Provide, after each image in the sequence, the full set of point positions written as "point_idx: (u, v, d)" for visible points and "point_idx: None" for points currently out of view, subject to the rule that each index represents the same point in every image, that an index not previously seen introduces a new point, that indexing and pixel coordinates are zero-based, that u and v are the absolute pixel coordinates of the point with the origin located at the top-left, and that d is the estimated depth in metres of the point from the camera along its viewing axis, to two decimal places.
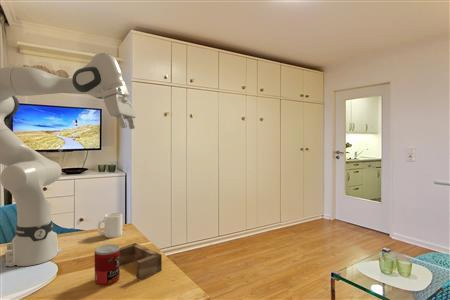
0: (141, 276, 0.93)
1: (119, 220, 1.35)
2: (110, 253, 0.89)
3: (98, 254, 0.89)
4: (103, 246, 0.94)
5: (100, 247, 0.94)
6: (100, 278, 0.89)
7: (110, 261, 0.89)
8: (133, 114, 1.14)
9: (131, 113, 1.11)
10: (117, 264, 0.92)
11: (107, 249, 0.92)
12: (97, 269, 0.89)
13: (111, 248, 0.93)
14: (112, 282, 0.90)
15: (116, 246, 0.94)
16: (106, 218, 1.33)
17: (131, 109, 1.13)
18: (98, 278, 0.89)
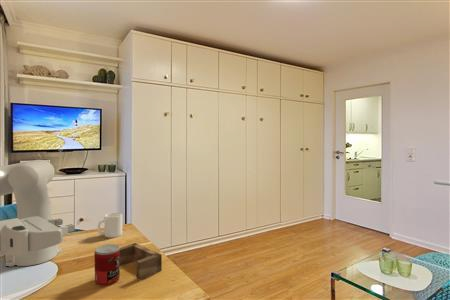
0: (141, 276, 0.93)
1: (119, 220, 1.35)
2: (110, 253, 0.89)
3: (98, 254, 0.89)
4: (103, 246, 0.94)
5: (100, 247, 0.94)
6: (100, 278, 0.89)
7: (110, 261, 0.89)
8: (38, 218, 0.82)
9: (40, 219, 0.81)
10: (117, 264, 0.92)
11: (107, 249, 0.92)
12: (97, 269, 0.89)
13: (111, 248, 0.93)
14: (112, 282, 0.90)
15: (116, 246, 0.94)
16: (106, 218, 1.33)
17: (30, 220, 0.80)
18: (98, 278, 0.89)
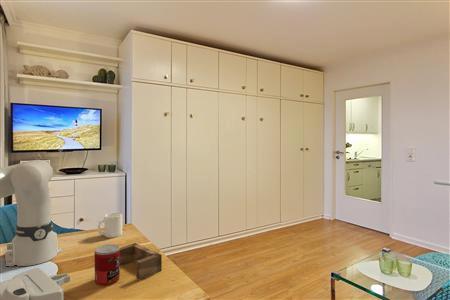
0: (141, 276, 0.93)
1: (119, 220, 1.35)
2: (110, 253, 0.89)
3: (98, 254, 0.89)
4: (103, 246, 0.94)
5: (100, 247, 0.94)
6: (100, 278, 0.89)
7: (110, 261, 0.89)
8: (39, 271, 0.83)
9: (41, 274, 0.81)
10: (117, 264, 0.92)
11: (107, 249, 0.92)
12: (97, 269, 0.89)
13: (111, 248, 0.93)
14: (112, 282, 0.90)
15: (116, 246, 0.94)
16: (106, 218, 1.33)
17: (31, 274, 0.81)
18: (98, 278, 0.89)
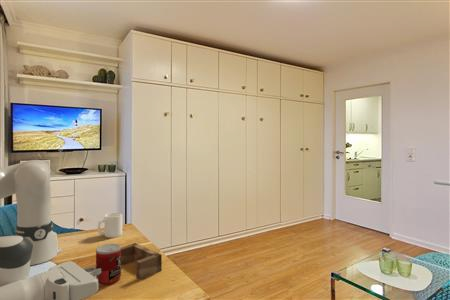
0: (141, 276, 0.93)
1: (119, 220, 1.35)
2: (111, 252, 0.90)
3: (100, 253, 0.89)
4: (104, 245, 0.95)
5: (101, 246, 0.94)
6: (101, 277, 0.89)
7: (112, 260, 0.90)
8: (72, 264, 0.89)
9: (74, 266, 0.87)
10: (118, 263, 0.92)
11: (108, 248, 0.93)
12: None
13: (112, 247, 0.93)
14: (113, 281, 0.90)
15: (117, 245, 0.95)
16: (106, 218, 1.33)
17: (65, 266, 0.87)
18: (100, 278, 0.89)
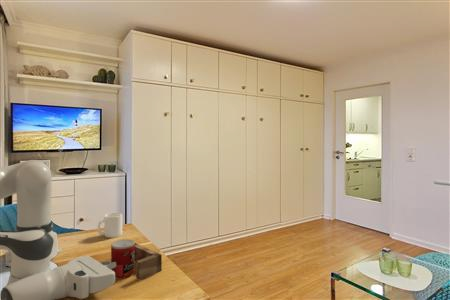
0: (141, 276, 0.93)
1: (119, 220, 1.35)
2: (126, 247, 0.94)
3: (115, 248, 0.94)
4: (119, 241, 0.99)
5: (116, 242, 0.98)
6: (116, 271, 0.94)
7: (126, 255, 0.94)
8: (88, 257, 0.93)
9: (91, 260, 0.92)
10: (132, 258, 0.96)
11: (123, 244, 0.97)
12: None
13: (127, 243, 0.98)
14: (127, 275, 0.95)
15: (131, 241, 0.99)
16: (106, 218, 1.33)
17: (82, 260, 0.92)
18: (115, 271, 0.94)
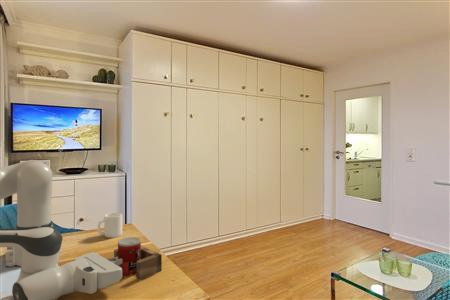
0: (141, 276, 0.93)
1: (119, 220, 1.35)
2: (131, 245, 0.96)
3: (121, 245, 0.96)
4: (126, 239, 1.02)
5: (123, 239, 1.01)
6: (122, 268, 0.96)
7: (131, 253, 0.96)
8: (95, 254, 0.96)
9: (98, 256, 0.94)
10: (138, 256, 0.98)
11: (129, 241, 0.99)
12: None
13: (133, 241, 1.00)
14: (133, 272, 0.97)
15: (138, 239, 1.01)
16: (106, 218, 1.33)
17: (89, 257, 0.94)
18: None
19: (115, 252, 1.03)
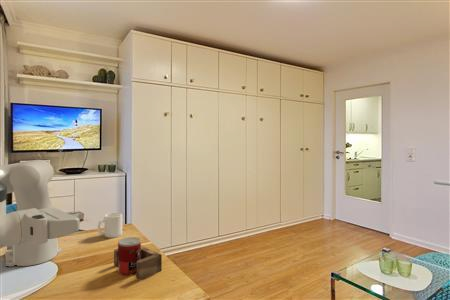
0: (141, 276, 0.93)
1: (119, 220, 1.35)
2: (131, 245, 0.96)
3: (121, 245, 0.96)
4: (126, 239, 1.02)
5: (123, 239, 1.01)
6: (122, 268, 0.96)
7: (131, 253, 0.96)
8: (53, 209, 0.85)
9: (56, 210, 0.83)
10: (138, 256, 0.98)
11: (129, 241, 0.99)
12: (120, 260, 0.96)
13: (133, 241, 1.00)
14: (133, 272, 0.97)
15: (138, 239, 1.01)
16: (106, 218, 1.33)
17: (46, 210, 0.83)
18: (121, 268, 0.96)
19: (115, 252, 1.03)
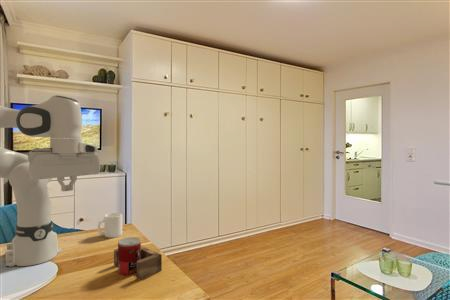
0: (141, 276, 0.93)
1: (119, 220, 1.35)
2: (131, 245, 0.96)
3: (121, 245, 0.96)
4: (126, 239, 1.02)
5: (123, 239, 1.01)
6: (122, 268, 0.96)
7: (131, 253, 0.96)
8: None
9: None
10: (138, 256, 0.98)
11: (129, 241, 0.99)
12: (120, 260, 0.96)
13: (133, 241, 1.00)
14: (133, 272, 0.97)
15: (138, 239, 1.01)
16: (106, 218, 1.33)
17: None
18: (121, 268, 0.96)
19: (115, 252, 1.03)
